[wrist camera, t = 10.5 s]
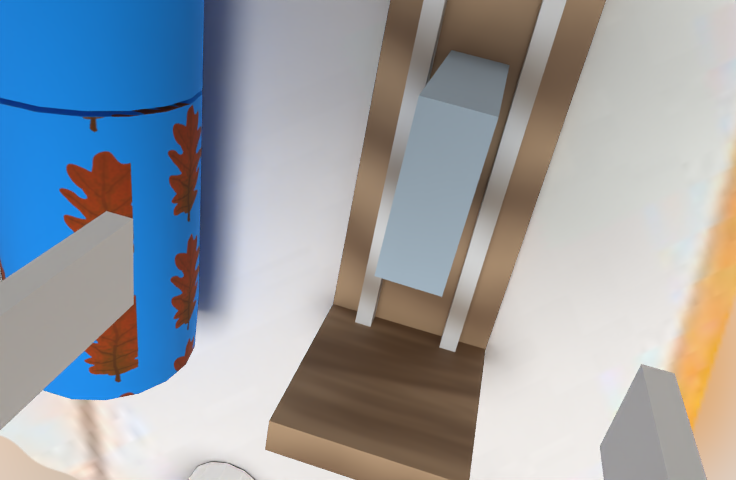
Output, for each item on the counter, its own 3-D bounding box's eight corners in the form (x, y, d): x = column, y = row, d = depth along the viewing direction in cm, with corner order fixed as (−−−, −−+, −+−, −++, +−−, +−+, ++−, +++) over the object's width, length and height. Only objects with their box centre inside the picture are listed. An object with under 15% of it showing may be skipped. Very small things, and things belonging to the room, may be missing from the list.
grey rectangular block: (451, 50, 32) (418, 95, 23) (509, 65, 31) (498, 117, 23) (414, 191, 35) (374, 275, 27) (465, 206, 35) (441, 296, 26)
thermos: (225, 319, 44) (242, -71, 32) (142, 423, 35) (123, -72, 23) (87, 282, 46) (56, -104, 34) (-28, 371, 36) (-126, -117, 25)
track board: (416, -119, 30) (351, -145, 19) (628, -75, 28) (682, -79, 18) (332, 320, 42) (265, 449, 32) (478, 364, 41) (457, 513, 30)
